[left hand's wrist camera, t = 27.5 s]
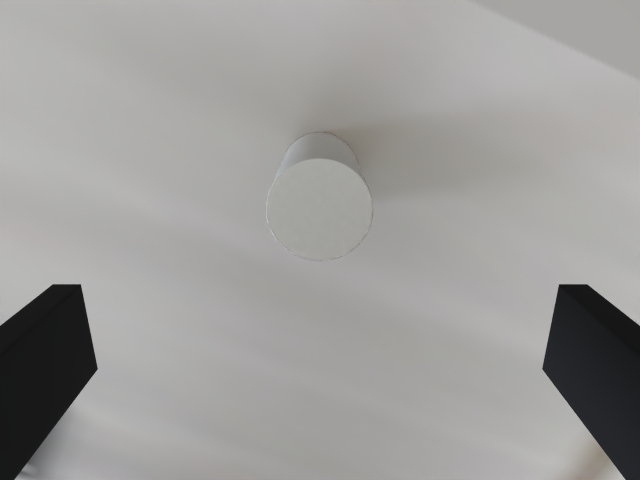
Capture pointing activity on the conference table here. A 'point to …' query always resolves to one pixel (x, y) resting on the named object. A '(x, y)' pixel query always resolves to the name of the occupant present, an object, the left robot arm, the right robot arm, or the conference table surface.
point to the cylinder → (319, 199)
